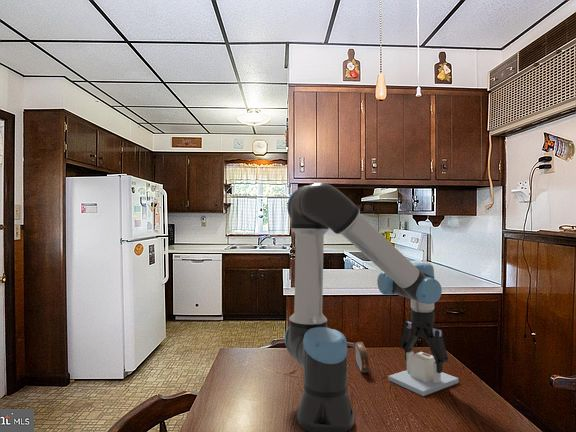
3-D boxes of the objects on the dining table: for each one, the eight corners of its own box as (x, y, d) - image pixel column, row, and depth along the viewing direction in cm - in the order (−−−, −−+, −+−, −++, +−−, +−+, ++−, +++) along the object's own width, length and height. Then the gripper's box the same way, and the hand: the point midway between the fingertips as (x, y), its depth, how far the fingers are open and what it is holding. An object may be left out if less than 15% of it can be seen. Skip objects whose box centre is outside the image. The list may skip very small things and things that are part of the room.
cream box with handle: (425, 382, 122) (424, 359, 122) (410, 375, 127) (409, 354, 127) (436, 378, 125) (436, 355, 126) (421, 372, 131) (421, 350, 131)
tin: (369, 376, 131) (369, 352, 131) (360, 376, 131) (360, 351, 131) (362, 360, 146) (362, 338, 146) (354, 360, 146) (354, 338, 146)
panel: (423, 396, 116) (423, 374, 116) (388, 380, 127) (388, 360, 127) (458, 382, 125) (458, 363, 125) (423, 369, 137) (422, 351, 137)
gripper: (460, 315, 119) (461, 385, 119) (403, 302, 138) (403, 363, 138) (445, 318, 115) (446, 391, 115) (389, 304, 134) (389, 367, 134)
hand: (423, 376), depth 126 cm, fingers closed on panel, 10 cm apart
